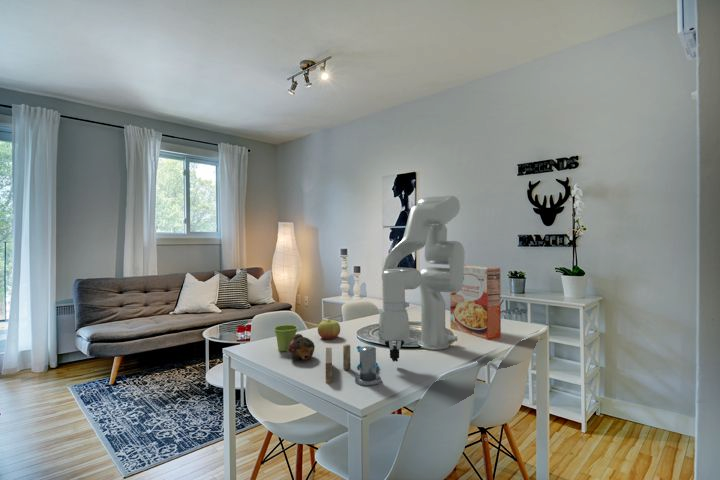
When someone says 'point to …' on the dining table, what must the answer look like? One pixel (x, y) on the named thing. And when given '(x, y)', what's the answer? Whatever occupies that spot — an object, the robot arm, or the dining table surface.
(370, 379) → the post
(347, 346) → the dowel pin
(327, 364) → the brown wooden plank
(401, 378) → the dining table surface
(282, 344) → the plant pot
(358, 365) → the gear
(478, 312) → the pasta box
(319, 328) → the apple
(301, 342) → the decorative turtle
